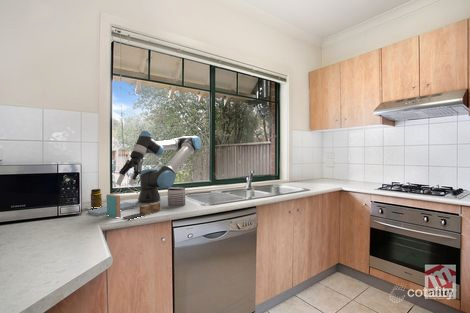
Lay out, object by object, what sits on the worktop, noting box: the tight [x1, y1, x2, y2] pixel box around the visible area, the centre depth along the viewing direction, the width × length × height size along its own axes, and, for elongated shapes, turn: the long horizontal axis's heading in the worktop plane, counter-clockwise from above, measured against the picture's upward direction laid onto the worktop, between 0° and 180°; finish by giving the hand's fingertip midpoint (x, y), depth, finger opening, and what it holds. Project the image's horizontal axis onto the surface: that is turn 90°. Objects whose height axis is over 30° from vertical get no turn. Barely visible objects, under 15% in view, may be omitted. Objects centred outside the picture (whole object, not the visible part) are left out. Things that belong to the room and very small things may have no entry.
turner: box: [122, 201, 162, 221], centre depth 128 cm, size 21×6×5 cm, turn 147°
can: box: [167, 186, 186, 208], centre depth 150 cm, size 11×11×12 cm
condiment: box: [90, 188, 103, 208], centre depth 148 cm, size 7×8×12 cm
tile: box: [105, 193, 122, 218], centre depth 126 cm, size 2×10×12 cm, turn 57°
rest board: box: [87, 202, 138, 217], centre depth 141 cm, size 24×13×2 cm, turn 147°
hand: (124, 184), depth 133 cm, fingers open, 13 cm apart
